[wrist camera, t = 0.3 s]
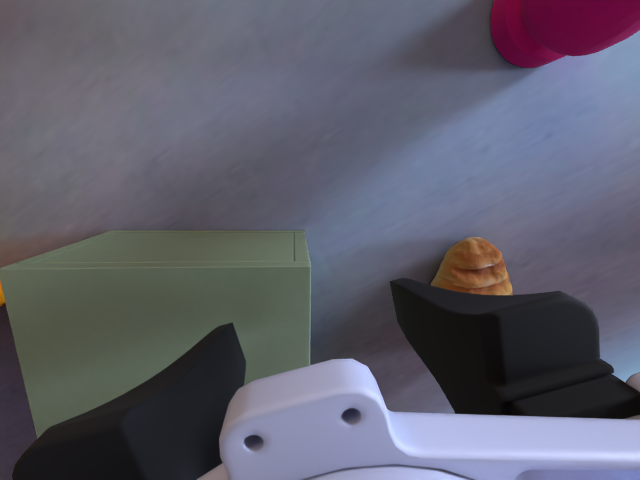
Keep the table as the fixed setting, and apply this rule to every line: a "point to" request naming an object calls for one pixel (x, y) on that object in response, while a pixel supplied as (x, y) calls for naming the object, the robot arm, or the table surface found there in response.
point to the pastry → (473, 269)
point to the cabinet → (152, 310)
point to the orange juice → (1, 296)
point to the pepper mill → (560, 28)
